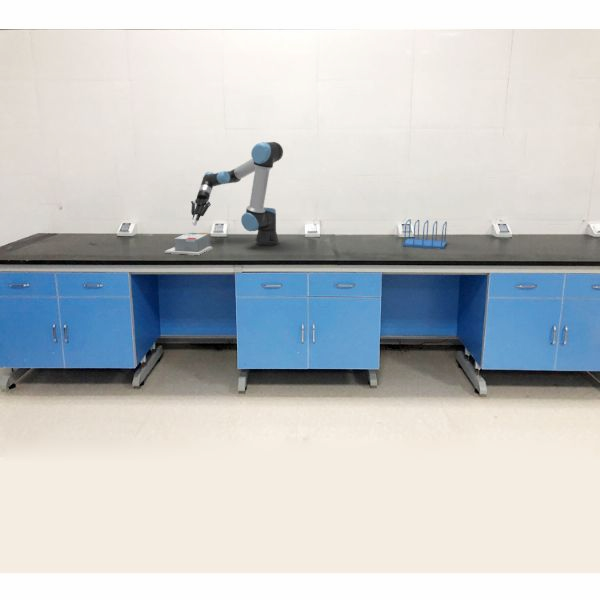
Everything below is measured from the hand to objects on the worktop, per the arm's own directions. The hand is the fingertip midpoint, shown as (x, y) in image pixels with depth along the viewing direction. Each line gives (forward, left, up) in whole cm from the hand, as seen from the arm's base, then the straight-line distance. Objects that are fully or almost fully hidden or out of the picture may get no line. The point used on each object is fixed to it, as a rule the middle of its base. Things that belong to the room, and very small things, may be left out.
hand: (193, 224), depth 361 cm
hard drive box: (-1, -5, -10) cm, 11 cm away
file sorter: (-136, -49, -15) cm, 146 cm away
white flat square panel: (0, +9, -15) cm, 17 cm away
